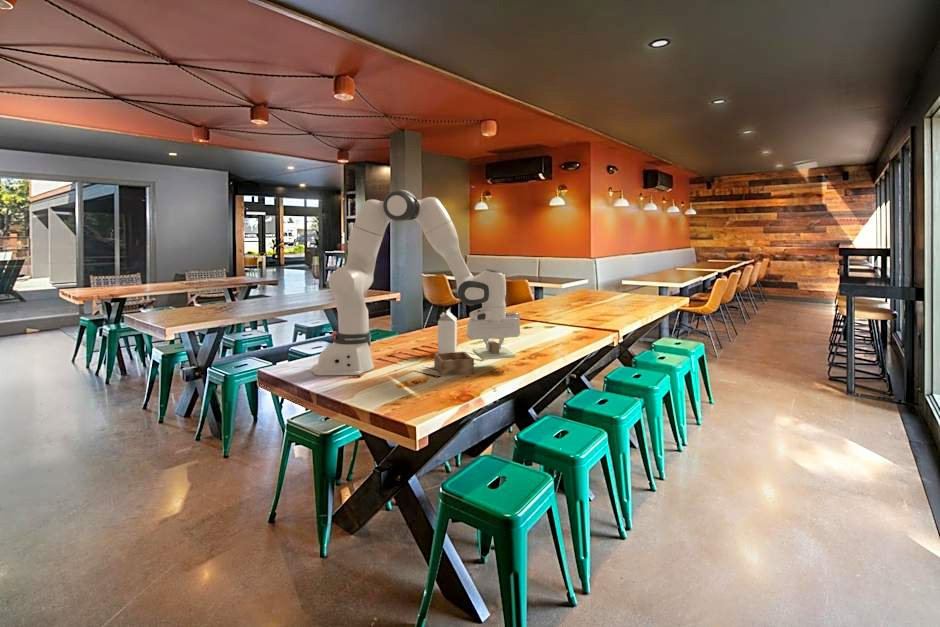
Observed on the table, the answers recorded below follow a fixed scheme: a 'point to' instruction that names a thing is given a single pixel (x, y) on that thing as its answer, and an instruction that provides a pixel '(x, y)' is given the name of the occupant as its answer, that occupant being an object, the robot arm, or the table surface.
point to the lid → (493, 352)
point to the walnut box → (453, 363)
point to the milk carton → (447, 333)
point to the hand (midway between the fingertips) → (493, 349)
